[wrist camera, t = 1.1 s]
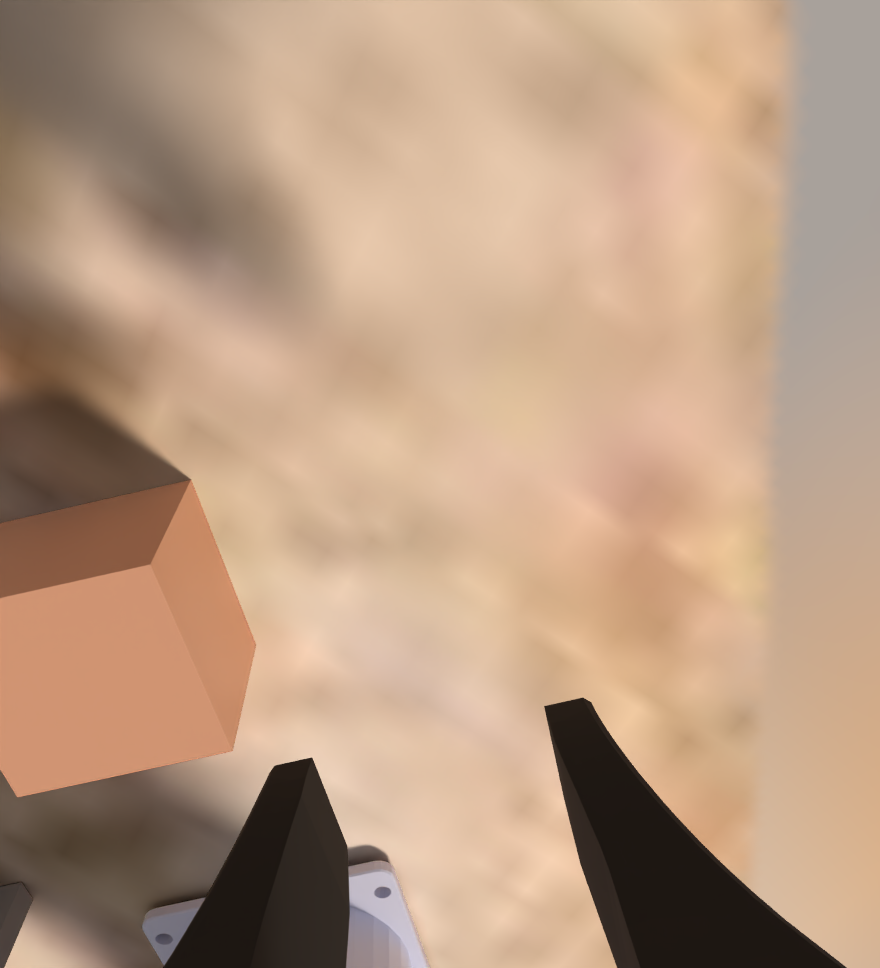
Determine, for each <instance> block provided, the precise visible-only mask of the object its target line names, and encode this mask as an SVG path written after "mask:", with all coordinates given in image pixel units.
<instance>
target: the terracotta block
mask: <svg viewBox="0 0 880 968" xmlns="http://www.w3.org/2000/svg"><path fill="white" fill-rule="evenodd" d="M255 648H256V643H255V641H254V638H253V636H252V633H251V631H250V628H249V625H248V623H247V620H246V618H245V615H244V613H243V610H242V608H241V605H240V603H239V600H238V598H237V595H236V592H235V590H234V587H233V585H232V582H231V580H230V577H229V575H228V572H227V570H226V567H225V565H224V562H223V559H222V557H221V554H220V552H219V549H218V547H217V544H216V542H215V539H214V537H213V534H212V532H211V529H210V526H209V524H208V521H207V519H206V516H205V514H204V511H203V509H202V506H201V504H200V501H199V499H198V496H197V493H196V491H195V488H194V486H193V483H192V481H191V480H187V481H183V482H179V483H174V484H170V485H165V486H161V487H157V488H152V489H148V490H143V491H139V492H135V493H130V494H126V495H122V496H117V497H113V498H108V499H104V500H100V501H95V502H91V503H86V504H82V505H78V506H73V507H69V508H64V509H60V510H56V511H51V512H47V513H43V514H38V515H34V516H29V517H25V518H21V519H16V520H12V521H7V522H3V523H0V770H1V772H2V773H3V775H4V776H5V778H6V780H7V781H8V783H9V784H10V786H11V788H12V789H13V791H14V793H15V794H16V796H17V797H22V796H26V795H31V794H36V793H40V792H45V791H50V790H54V789H59V788H64V787H68V786H73V785H78V784H82V783H87V782H91V781H96V780H101V779H105V778H110V777H115V776H119V775H124V774H129V773H133V772H138V771H143V770H147V769H152V768H157V767H161V766H166V765H170V764H175V763H180V762H184V761H189V760H194V759H198V758H203V757H208V756H212V755H217V754H222V753H226V752H231V751H233V747H234V743H235V738H236V734H237V729H238V725H239V720H240V716H241V711H242V707H243V702H244V698H245V693H246V689H247V684H248V680H249V675H250V670H251V666H252V661H253V657H254V652H255Z"/></svg>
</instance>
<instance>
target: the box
mask: <svg viewBox="0 0 880 968" xmlns="http://www.w3.org/2000/svg"><path fill="white" fill-rule="evenodd" d="M32 901H33V899H32V897H31V896H30V894H29V893H28V891H27V890H26V888H25V887H24V885H23V884H22V882H21V883H16V884H11V885H7V886H2V887H0V968H4V967H5V964H6V962H7V960H8V957H9V955H10V953H11V950H12V948H13V946H14V943H15V941H16V938H17V936H18V934H19V931H20V929H21V927H22V924H23V922H24V920H25V917H26V915H27V913H28V910H29V908H30V906H31V903H32Z"/></svg>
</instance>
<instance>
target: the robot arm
mask: <svg viewBox="0 0 880 968" xmlns="http://www.w3.org/2000/svg"><path fill="white" fill-rule="evenodd" d="M544 707H545V712H546V717H547V721H548V726H549V730H550V735H551V740H552V744H553V749H554V754H555V758H556V763H557V767H558V772H559V777H560V781H561V786H562V791H563V795H564V800H565V804H566V808H567V812H568V816H569V820H570V824H571V828H572V832H573V836H574V840H575V844H576V848H577V852H578V855H579V859H580V863H581V866H582V869H583V872H584V875H585V878H586V881H587V884H588V886H589V889H590V892H591V895H592V898H593V901H594V903H595V906H596V909H597V912H598V915H599V918H600V920H601V923H602V926H603V929H604V932H605V934H606V937H607V940H608V943H609V946H610V949H611V951H612V954H613V957H614V960H615V963H616V966H617V968H846V967H845V966H844V965H842V964H841V963H840V962H839V961H837V960H836V959H835V958H834V957H832V956H831V955H830V954H828V953H827V952H826V951H825V950H823V949H822V948H821V947H819V946H818V945H817V944H816V943H814V942H813V941H811V940H810V939H809V938H808V937H807V936H805V935H804V934H803V933H801V932H800V931H799V930H798V929H796V928H795V927H794V926H792V925H791V924H790V923H789V922H787V921H786V920H785V919H784V918H782V917H781V916H780V915H779V914H778V913H777V912H775V911H774V910H773V909H772V908H771V907H770V906H769V905H767V904H766V903H765V902H764V901H763V900H762V899H760V898H759V897H758V896H757V895H756V894H755V893H753V892H752V891H751V890H750V889H749V888H748V887H747V886H746V885H745V884H744V883H742V882H741V881H740V880H739V879H738V878H737V877H736V876H735V875H734V874H733V873H732V872H730V871H729V870H728V869H727V868H726V867H725V866H724V865H723V864H722V863H721V862H720V861H719V860H718V859H717V858H716V857H715V856H714V855H713V854H712V853H711V852H710V851H709V850H708V849H707V848H706V847H705V846H704V845H703V844H702V843H701V842H700V841H699V840H698V839H697V838H696V837H695V836H694V835H693V834H692V833H691V832H690V831H689V830H688V829H687V827H686V826H685V825H684V824H683V823H682V822H681V821H680V820H679V819H678V818H677V817H676V816H675V815H674V813H673V812H672V811H671V810H670V809H669V808H668V807H667V806H666V805H665V803H664V802H663V801H662V800H661V799H660V798H659V796H658V795H657V794H656V793H655V792H654V790H653V789H652V788H651V787H650V786H649V784H648V783H647V782H646V781H645V780H644V779H643V777H642V776H641V775H640V774H639V773H638V771H637V770H636V769H635V767H634V766H633V765H632V764H631V762H630V761H629V760H628V758H627V757H626V756H625V754H624V753H623V752H622V750H621V749H620V748H619V746H618V745H617V743H616V742H615V741H614V739H613V738H612V736H611V735H610V733H609V732H608V731H607V729H606V727H605V726H604V724H603V723H602V721H601V719H600V718H599V716H598V714H597V713H596V711H595V709H594V707H593V705H592V703H591V702H590V701H588V700H586V699H584V698H580V699H575V700H571V701H566V702H561V703H557V704H552V705H548V706H544ZM142 929H143V932H144V933H145V935H146V937H147V938H148V940H149V942H150V943H151V945H152V947H153V948H154V950H155V952H156V953H157V955H158V957H159V958H160V960H161V962H162V963H163V965H164V967H163V968H430V965H429V963H428V960H427V957H426V954H425V952H424V949H423V946H422V943H421V941H420V938H419V935H418V932H417V930H416V927H415V924H414V921H413V919H412V916H411V913H410V910H409V908H408V905H407V902H406V899H405V897H404V894H403V891H402V889H401V886H400V883H399V880H398V878H397V875H396V872H395V869H394V868H393V866H392V865H391V864H390V863H388V862H386V861H381V860H379V861H372V862H367V863H362V864H358V865H353V866H348V850H347V845H346V842H345V839H344V837H343V834H342V832H341V829H340V827H339V824H338V822H337V819H336V817H335V814H334V812H333V809H332V807H331V804H330V802H329V799H328V796H327V794H326V791H325V789H324V786H323V784H322V781H321V779H320V776H319V774H318V771H317V769H316V766H315V764H314V761H313V759H312V758H308V759H303V760H299V761H294V762H289V763H285V764H280V765H276V766H274V767H273V769H272V770H271V772H270V773H269V776H268V778H267V780H266V782H265V784H264V786H263V788H262V790H261V792H260V794H259V796H258V798H257V800H256V802H255V804H254V806H253V808H252V810H251V813H250V815H249V817H248V819H247V821H246V823H245V825H244V827H243V828H242V830H241V832H240V834H239V836H238V838H237V840H236V842H235V844H234V846H233V848H232V850H231V852H230V854H229V855H228V857H227V859H226V861H225V863H224V865H223V867H222V868H221V870H220V872H219V874H218V876H217V878H216V880H215V881H214V883H213V885H212V887H211V889H210V891H209V892H208V894H207V896H206V897H204V898H200V899H195V900H191V901H186V902H181V903H177V904H172V905H167V906H163V907H158V908H154V909H152V910H149V911H148V912H147V913H146V915H145V917H144V921H143V924H142Z"/></svg>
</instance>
